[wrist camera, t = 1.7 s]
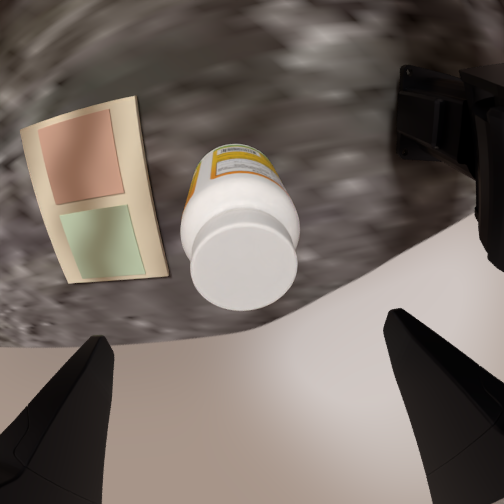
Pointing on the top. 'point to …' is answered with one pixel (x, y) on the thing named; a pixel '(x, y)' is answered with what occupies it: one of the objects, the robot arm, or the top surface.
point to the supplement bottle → (240, 230)
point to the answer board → (96, 192)
